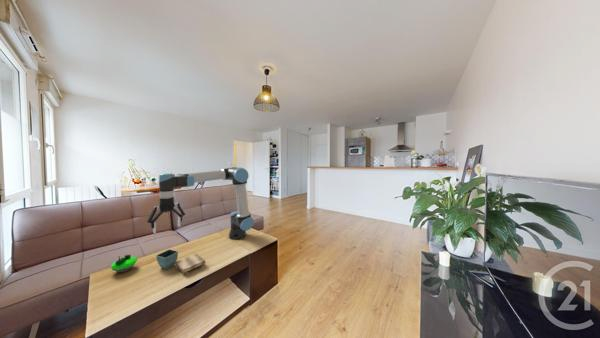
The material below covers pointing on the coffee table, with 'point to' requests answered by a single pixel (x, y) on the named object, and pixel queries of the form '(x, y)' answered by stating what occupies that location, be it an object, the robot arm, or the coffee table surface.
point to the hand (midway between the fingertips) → (167, 229)
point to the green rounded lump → (124, 263)
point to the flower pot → (167, 258)
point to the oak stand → (190, 263)
